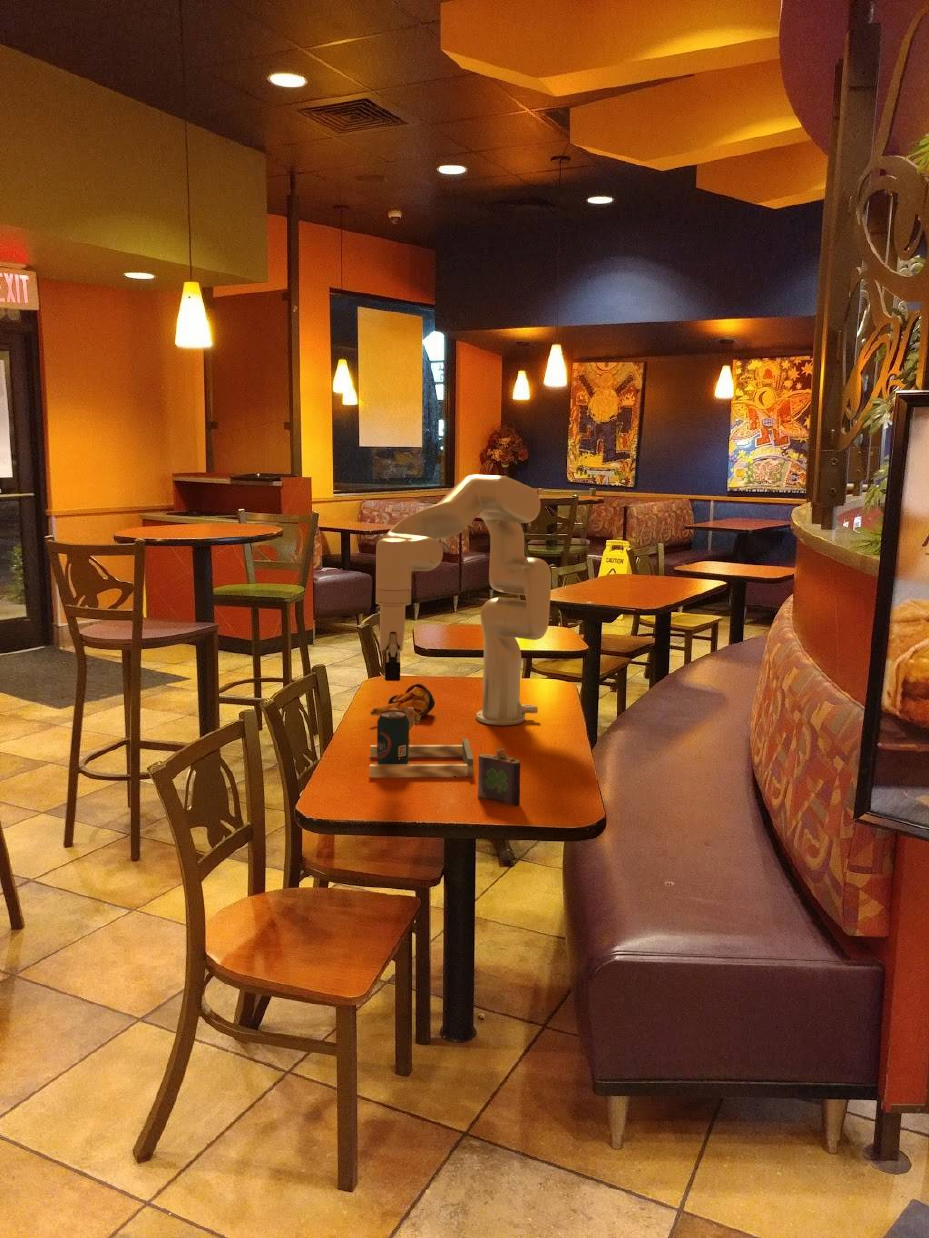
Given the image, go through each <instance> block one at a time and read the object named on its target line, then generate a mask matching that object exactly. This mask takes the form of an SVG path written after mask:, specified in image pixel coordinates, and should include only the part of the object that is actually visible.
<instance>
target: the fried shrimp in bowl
mask: <svg viewBox="0 0 929 1238" xmlns="http://www.w3.org/2000/svg"><path fill="white" fill-rule="evenodd" d="M435 704H436V702H435V699H434V697H433V694H432V692H431V691H430V690H429V689H428V688H427V687H426V686H425V685H424V684H422V683H414V684H412V685H411V686H409V687H408V688H407V690H406V691H405V692H404V693H400V694H396V695H393V696H391V697H390V698H389V699H388V703H387V704H386V705H381V706H378V707H376V708H372V709H371V710H370V716H375V717H377V716H379V717H380V713H381V712H383V711H387V710H389V709H391V708H397V709H398V710H402V709H403V708H406V707H413V708H414V711H415V712H416V713H417V714H418V715H420V716H421V718H422V717H425V716H426V715H428V714H429V713H430V712H431V711H432V710H433V709H434V707H435Z"/></svg>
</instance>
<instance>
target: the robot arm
mask: <svg viewBox="0 0 929 1238" xmlns="http://www.w3.org/2000/svg"><path fill="white" fill-rule="evenodd" d="M541 505H542V504H541V499H540V496H539V493H538V492H537V491H536V490H535V489H534V488H533V487H531V486H529V485H526V484H524V483H522V482H520V481H518V480H516V479H514V478H511V477H508V476H504V475H493V474H491V475H490V474H469V475H466V476H465V477H463V478H462V479H461V480H460V481H459V482H457V483H456V485H455V486H453V488H452V489H451V490H450V491H449V492H448V493H446V495H445V496H444V497H442V498H441V500H439V501H438V503H436V504H433V505H432V506H429V507H426V508H424V509H422V510H419V511H417V512H414V513H413V514H409V515H407V516H406V517H404V518H402V519H401V520H399V521H398V522H397V523H396V524H395V525H394V526H392V528H391V529H389V531H387V532H386V533H385V535H384V536H383V538H382V539H379V540H378V541H377V543H376V548H375V565H376V566H375V605H379V606H380V609H379V651H380V652H384V651H385V652H384V654H385V656H384V661H385V662H384V680H385V682H400V681H401V652H402V651H403V647H404V640H405V630H406V629H405V628H406V626H405V625H406V606H410V605H411V604H412V574H413V573H412V572H414V571H415V572H416V571H417V572H418V571H419V572H428V571H433V570H434V569H436V568H438V566H439V565H440V564H441V562H442V560H443V556H444V551H443V546H442V544H441V543H440V542H439V541H438V540H439V539H440V540H441V539H444V538H445V539H446V538H449V537H454V536H456V535H459V534H460V533H463V531H465V530H466V529H467V527H468V526H469V525H471V523H472V522H473V521H474V520H475V519H476V518H477V517H478V516H479V517H480V519H482V520H483V522H484V524H485V526H486V527H487V531H488V534H489V537H490V539H489V540H490V546H489V548H490V549H489V565H488V566H489V569H488V582H489V585H490V587H491V589H493V590H495V591H497V592H500V593H506V594H512V595H520V596H521V595H522V596H524V597H525V600H524V599H517V598H512V597H511V598H509V597H500V596H499V597H492V598H490V599H488V600H487V601H485V603H484V604H483V605H482V608H481V610H480V624H481V630H482V635H483V669H482V670H483V673H482V674H483V675H482V676H483V677H482V678H483V680H482V681H483V682H482V709H481V710H479V711H478V712H476V714H475V719H476V720H477V721H478V722H479V723H483V724H487V725H491V726H513V725H519V724H521V723H523V722H524V721H525V720H526V714H538V711H539V710H538V709H539V708H538V705H532V704H529V703H528V704H523V703H522V702H521V700H520V698H521V697H520V696H521V693H520V692H521V668H522V667H521V665H522V652H521V648H520V645H519V642H518V640H517V639H525V640H528V641H529V640H531V641H532V640H533V641H536V640H540V639H541V638H543V637H544V636H545V635H546V633H547V631H548V627H549V623H550V608H551V597H552V596H551V592H552V573H551V568H550V566H549V565H548V563H547V562H546V561H545V560H544V559H542V558H538V557H533V556H531V557H530V556H525V533H524V531H523V528H522V526H521V524H527V523H528V524H529V523H531V522H533V521H534V520H536V519H537V517H538V516H539V514H540V512H541ZM516 638H517V639H516Z"/></svg>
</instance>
